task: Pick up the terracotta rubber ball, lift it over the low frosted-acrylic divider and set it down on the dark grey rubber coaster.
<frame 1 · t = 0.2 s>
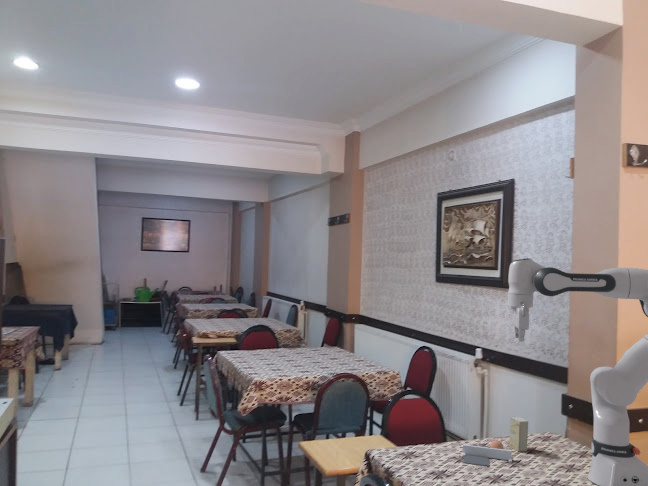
hand: (519, 339, 191), 47 cm above the table, fingers open, 8 cm apart
divider: (486, 456, 200), on the table
skincare box: (518, 449, 211), on the table
ball: (496, 453, 205), on the table
coaster: (476, 460, 196), on the table
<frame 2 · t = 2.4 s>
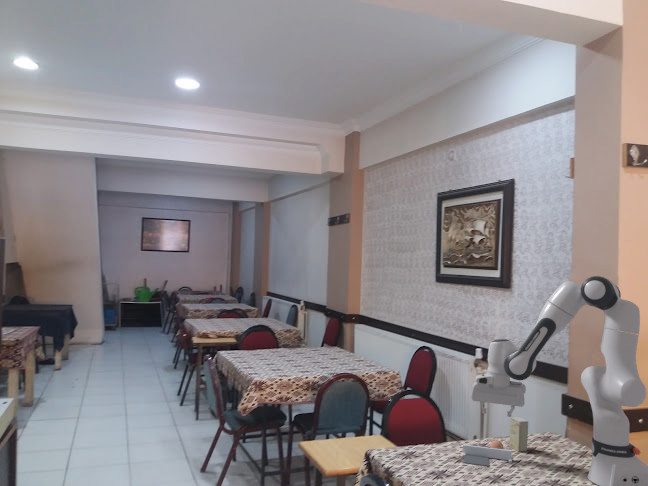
hand: (496, 414, 205), 15 cm above the table, fingers open, 8 cm apart
nothing on the table moved.
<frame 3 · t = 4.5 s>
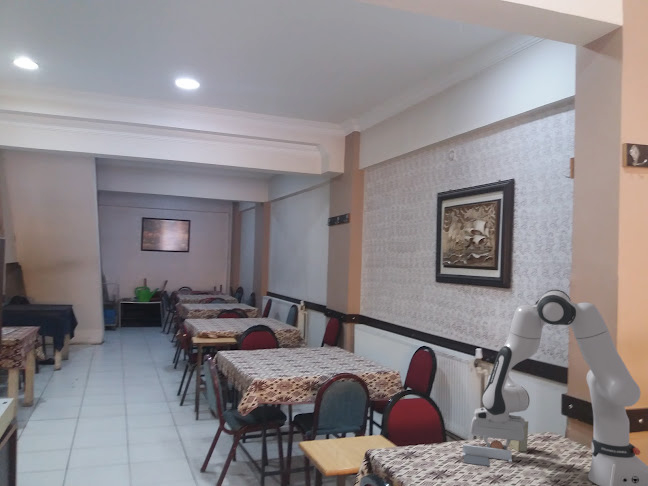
hand: (496, 449, 205), 2 cm above the table, fingers closed on ball, 5 cm apart
ball: (496, 453, 205), on the table, touching gripper
everything else where it was.
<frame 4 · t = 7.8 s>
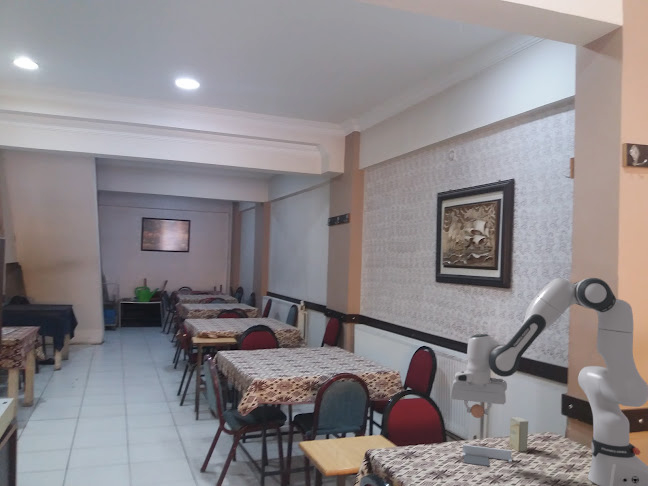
hand: (477, 413, 197), 18 cm above the table, fingers closed on ball, 5 cm apart
ball: (477, 417, 197), point 16 cm above the table, touching gripper
everything else where it was.
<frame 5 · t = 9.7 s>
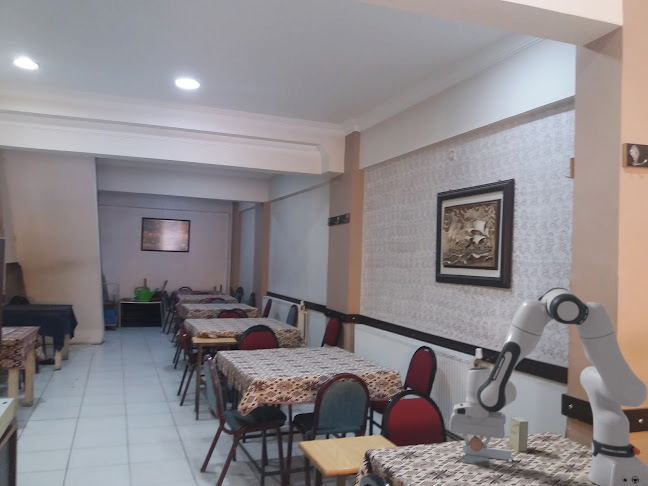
hand: (476, 446, 196), 5 cm above the table, fingers closed on ball, 5 cm apart
ball: (475, 450, 196), point 4 cm above the table, touching gripper
everything else where it was.
when the fingers open (3 cm above the table, at t = 11.1 s): ball drops 1 cm, resting on coaster.
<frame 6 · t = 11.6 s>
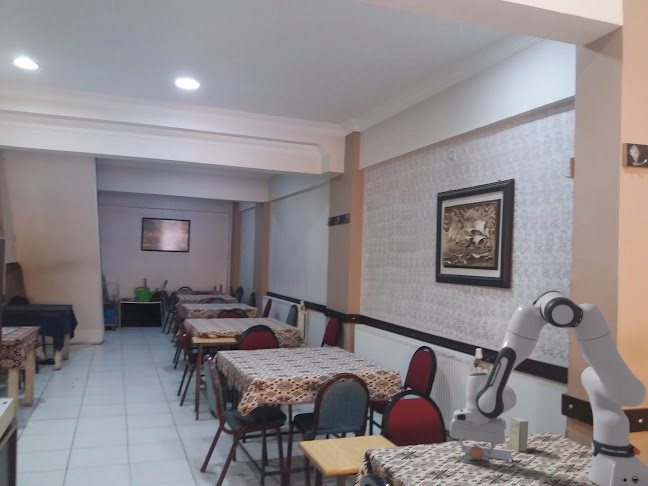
hand: (476, 452, 196), 3 cm above the table, fingers open, 8 cm apart
ball: (476, 459, 196), resting on coaster
everything else where it was.
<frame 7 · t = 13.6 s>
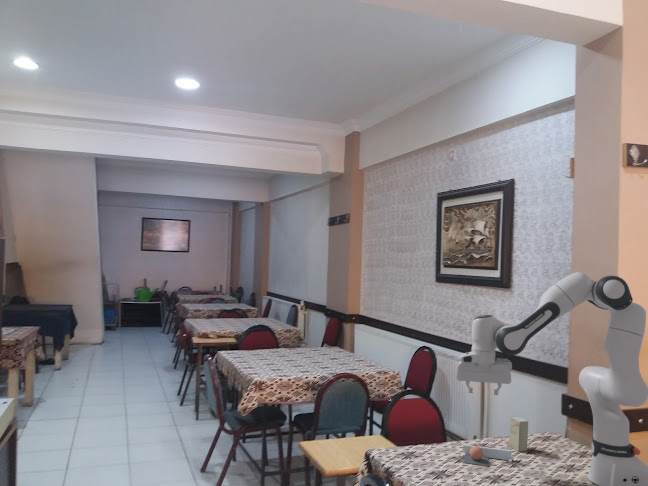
hand: (483, 393, 198), 25 cm above the table, fingers open, 8 cm apart
nothing on the table moved.
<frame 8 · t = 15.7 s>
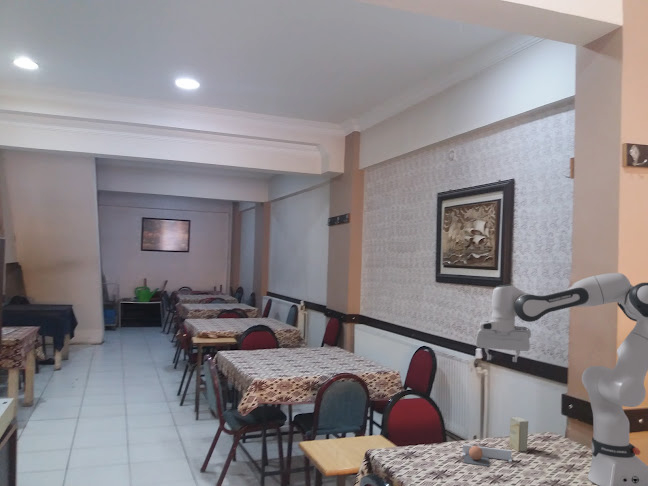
hand: (501, 360, 203), 37 cm above the table, fingers open, 8 cm apart
nothing on the table moved.
at the end: ball inside the target area on the coaster (0.0 cm from its centre), point 0.3 cm above the coaster's base; ball resting on coaster; the gripper is holding nothing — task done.
